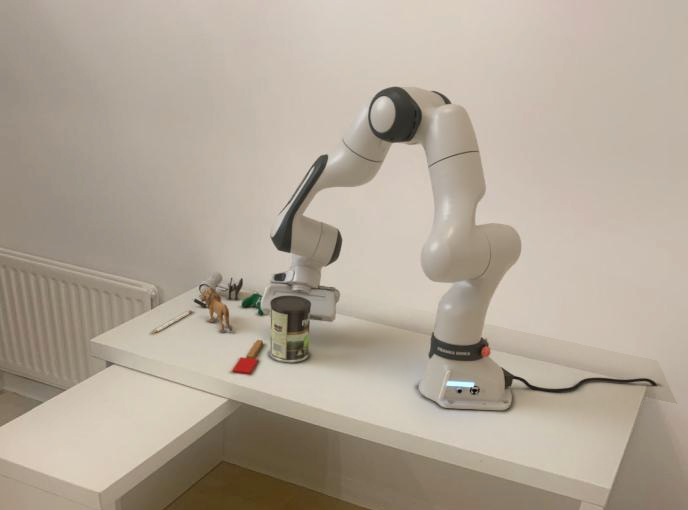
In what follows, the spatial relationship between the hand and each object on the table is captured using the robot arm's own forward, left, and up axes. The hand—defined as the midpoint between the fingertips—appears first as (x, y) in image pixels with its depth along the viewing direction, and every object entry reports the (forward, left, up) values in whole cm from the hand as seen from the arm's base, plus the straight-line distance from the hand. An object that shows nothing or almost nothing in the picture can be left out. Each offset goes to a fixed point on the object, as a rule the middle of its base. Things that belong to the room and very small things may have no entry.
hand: (294, 332), depth 199 cm
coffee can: (0, +5, -4) cm, 7 cm away
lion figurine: (+24, -9, -4) cm, 26 cm away
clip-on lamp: (+30, -28, -4) cm, 41 cm away
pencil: (+36, -6, -5) cm, 37 cm away
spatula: (+9, +10, -4) cm, 14 cm away
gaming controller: (+16, -24, -4) cm, 29 cm away
